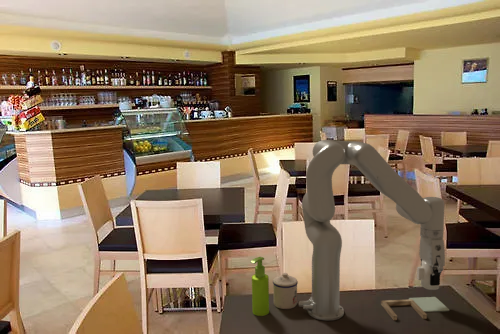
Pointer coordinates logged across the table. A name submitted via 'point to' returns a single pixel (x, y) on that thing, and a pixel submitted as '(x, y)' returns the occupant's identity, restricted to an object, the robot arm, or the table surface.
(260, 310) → the soap dispenser
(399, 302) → the oak stall
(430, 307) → the sage tile
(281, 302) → the teacup with lid
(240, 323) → the table surface
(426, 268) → the labeled white canister
